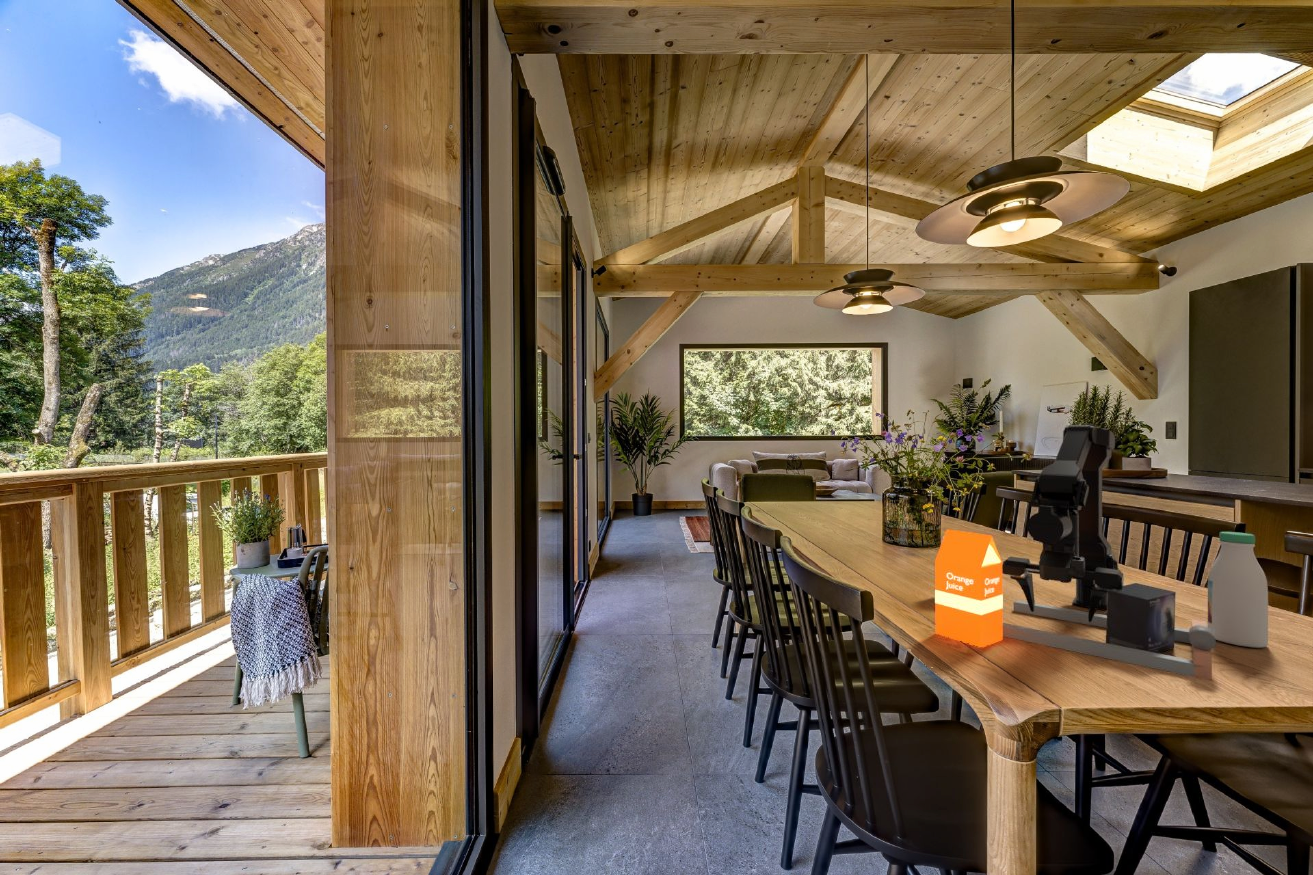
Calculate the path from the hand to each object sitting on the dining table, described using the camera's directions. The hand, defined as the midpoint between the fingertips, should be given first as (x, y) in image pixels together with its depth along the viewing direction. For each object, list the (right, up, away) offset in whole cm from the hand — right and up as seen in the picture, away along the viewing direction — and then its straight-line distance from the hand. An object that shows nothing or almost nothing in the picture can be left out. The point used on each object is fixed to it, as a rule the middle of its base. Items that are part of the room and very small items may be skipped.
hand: (1060, 616), depth 108 cm
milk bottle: (+28, -3, -6) cm, 29 cm away
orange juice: (-19, -3, -2) cm, 20 cm away
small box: (+8, -3, -9) cm, 12 cm away
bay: (+4, -3, -4) cm, 6 cm away
